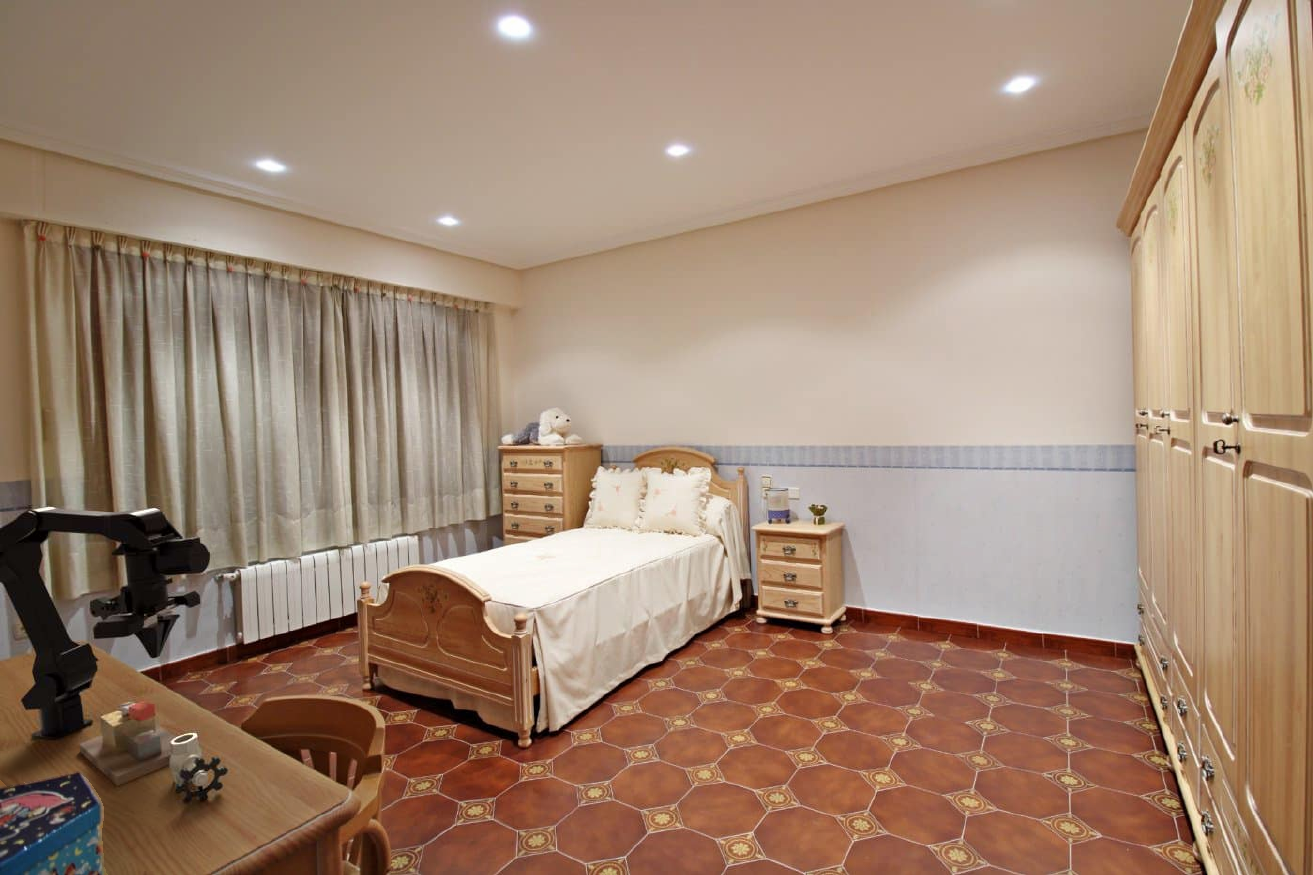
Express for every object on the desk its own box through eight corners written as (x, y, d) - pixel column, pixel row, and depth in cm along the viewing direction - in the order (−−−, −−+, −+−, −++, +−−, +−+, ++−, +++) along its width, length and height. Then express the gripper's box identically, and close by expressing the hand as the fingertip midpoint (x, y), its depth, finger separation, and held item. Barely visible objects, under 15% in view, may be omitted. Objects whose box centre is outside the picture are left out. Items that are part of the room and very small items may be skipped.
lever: (116, 713, 109) (115, 702, 109) (131, 707, 111) (130, 696, 111) (140, 721, 106) (139, 710, 106) (155, 715, 108) (154, 704, 108)
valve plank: (79, 751, 111) (78, 743, 111) (149, 725, 119) (148, 718, 119) (117, 785, 99) (116, 776, 99) (191, 754, 108) (190, 746, 107)
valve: (159, 783, 100) (177, 813, 92) (155, 743, 99) (172, 770, 91) (208, 764, 104) (230, 790, 96) (205, 725, 104) (225, 749, 96)
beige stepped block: (98, 740, 111) (94, 707, 111) (137, 726, 116) (134, 694, 115) (129, 766, 102) (125, 730, 102) (171, 749, 107) (167, 715, 106)
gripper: (143, 566, 127) (151, 641, 128) (56, 594, 108) (66, 682, 109) (198, 562, 127) (206, 637, 128) (121, 590, 108) (131, 678, 109)
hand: (155, 657), depth 119 cm, fingers closed
